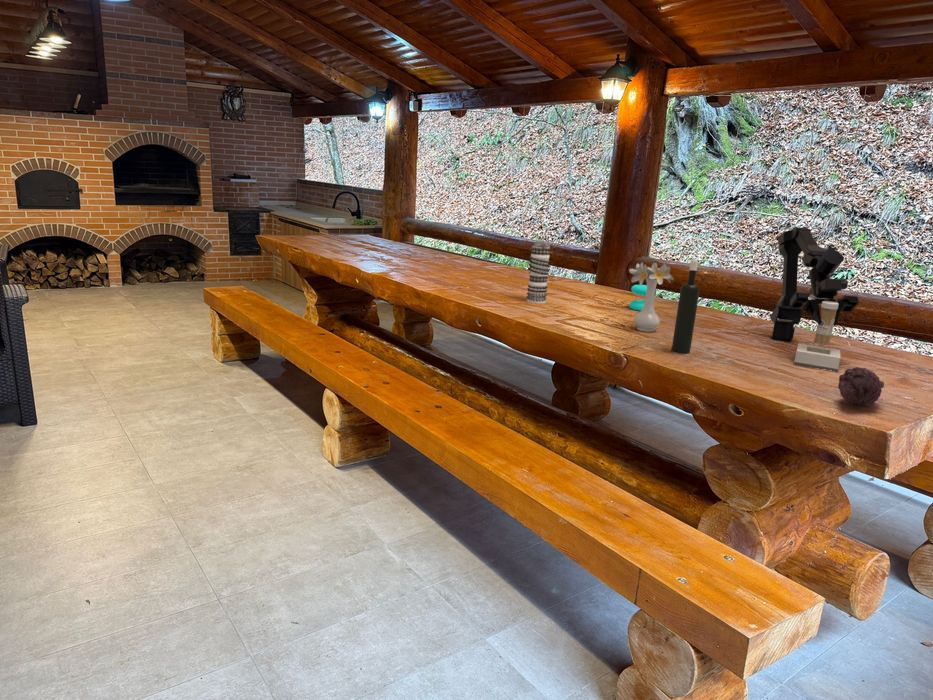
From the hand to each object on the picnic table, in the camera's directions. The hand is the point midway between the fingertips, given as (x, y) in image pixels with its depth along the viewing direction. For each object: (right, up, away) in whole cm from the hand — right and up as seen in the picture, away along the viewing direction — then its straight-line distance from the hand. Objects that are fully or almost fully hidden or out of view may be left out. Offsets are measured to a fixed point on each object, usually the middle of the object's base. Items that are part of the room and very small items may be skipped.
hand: (827, 324), depth 199 cm
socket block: (-1, -12, +5) cm, 13 cm away
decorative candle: (-82, +13, +80) cm, 115 cm away
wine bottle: (-42, -9, +11) cm, 44 cm away
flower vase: (-46, -1, +39) cm, 60 cm away
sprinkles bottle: (0, -6, +3) cm, 7 cm away
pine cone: (-11, -22, -33) cm, 41 cm away
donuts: (-37, +9, +77) cm, 86 cm away
